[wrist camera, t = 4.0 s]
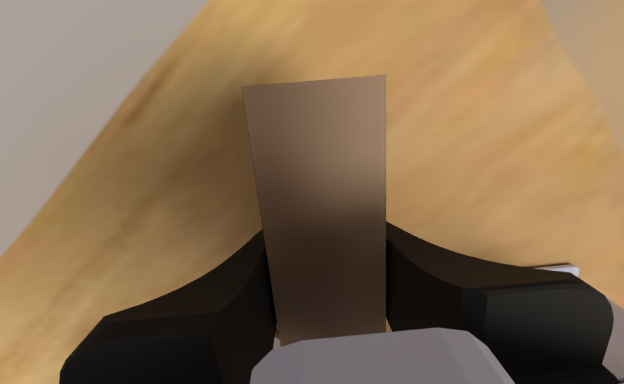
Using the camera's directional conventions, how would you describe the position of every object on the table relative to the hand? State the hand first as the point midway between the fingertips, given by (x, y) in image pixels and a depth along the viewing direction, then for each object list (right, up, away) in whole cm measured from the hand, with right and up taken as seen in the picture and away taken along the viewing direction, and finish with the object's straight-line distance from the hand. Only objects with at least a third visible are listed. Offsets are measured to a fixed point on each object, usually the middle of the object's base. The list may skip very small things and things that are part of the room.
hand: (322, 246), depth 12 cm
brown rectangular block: (0, +1, +2) cm, 2 cm away
